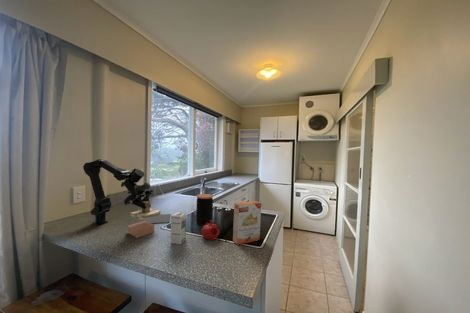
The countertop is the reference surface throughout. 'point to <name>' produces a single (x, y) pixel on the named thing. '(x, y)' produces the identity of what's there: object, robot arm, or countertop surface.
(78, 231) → the countertop surface
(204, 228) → the pomegranate
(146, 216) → the lid
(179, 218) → the syrup box
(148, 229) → the storage box
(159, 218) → the mat
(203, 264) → the countertop surface
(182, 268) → the countertop surface
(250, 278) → the countertop surface
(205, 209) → the coffee jar
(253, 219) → the cracker box
